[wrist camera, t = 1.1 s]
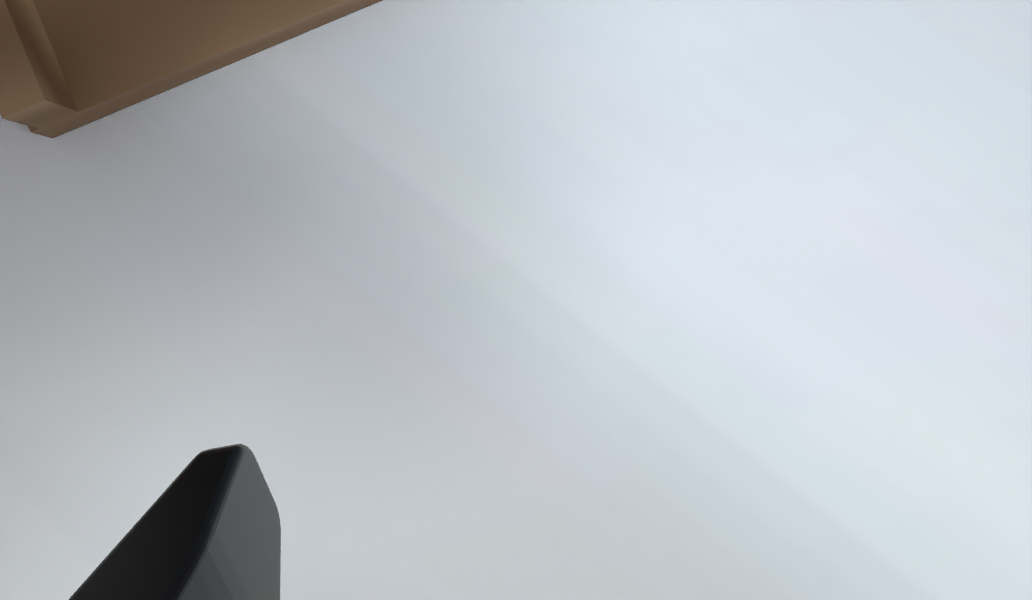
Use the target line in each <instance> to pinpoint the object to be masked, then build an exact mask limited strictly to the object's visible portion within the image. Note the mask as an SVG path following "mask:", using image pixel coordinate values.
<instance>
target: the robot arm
mask: <svg viewBox="0 0 1032 600" xmlns="http://www.w3.org/2000/svg"><path fill="white" fill-rule="evenodd" d="M280 555H281V527H280V518H279V513H278V509H277V506H276V503H275V501H274V499H273V497H272V494H271V492H270V490H269V488H268V485H267V483H266V481H265V479H264V476H263V474H262V472H261V470H260V467H259V465H258V463H257V460H256V458H255V456H254V454H253V452H252V451H251V450H250V449H249V448H248V447H247V446H245V445H242V444H236V445H230V446H224V447H219V448H213V449H208V450H205V451H202V452H201V453H199V454H198V455H197V456H196V457H195V458H194V459H193V460H192V461H191V462H190V463H189V464H188V466H187V467H186V468H185V469H184V470H183V471H182V472H181V473H180V475H179V476H178V477H177V478H176V479H175V480H174V481H173V482H172V484H171V485H170V486H169V487H168V488H167V489H166V490H165V491H164V493H163V494H162V495H161V496H160V497H159V498H158V499H157V501H156V502H155V503H154V504H153V505H152V506H151V507H150V508H149V510H148V511H147V512H146V513H145V514H144V515H143V516H142V517H141V519H140V520H139V521H138V522H137V523H136V524H135V525H134V526H133V528H132V529H131V530H130V531H129V532H128V533H127V534H126V535H125V537H124V538H123V539H122V540H121V541H120V542H119V543H118V544H117V546H116V547H115V548H114V549H113V550H112V551H111V552H110V553H109V555H108V556H107V557H106V558H105V559H104V560H103V561H102V562H101V564H100V565H99V566H98V567H97V568H96V569H95V570H94V571H93V573H92V574H91V575H90V576H89V577H88V578H87V579H86V581H85V582H84V583H83V584H82V585H81V586H80V587H79V588H78V590H77V591H76V592H75V593H74V594H73V595H72V596H71V597H70V599H69V600H280Z"/></svg>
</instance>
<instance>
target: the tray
mask: <svg viewBox="0 0 1032 600" xmlns="http://www.w3.org/2000/svg"><path fill="white" fill-rule="evenodd" d="M379 1H382V0H0V113H1V115H2V118H4V119H7V120H11V121H14V122H18V123H21V124H25V125H28V126H29V129H30V131H31V132H33V133H36V134H40V135H43V136H47V137H50V138H54V137H57V136H59V135H62V134H64V133H66V132H69V131H71V130H73V129H76V128H78V127H81V126H83V125H85V124H88V123H90V122H93V121H95V120H97V119H100V118H102V117H105V116H107V115H109V114H112V113H114V112H117V111H119V110H121V109H124V108H126V107H128V106H131V105H133V104H136V103H138V102H140V101H143V100H145V99H148V98H150V97H152V96H155V95H157V94H160V93H162V92H164V91H167V90H169V89H171V88H174V87H176V86H179V85H181V84H183V83H186V82H188V81H191V80H193V79H195V78H198V77H200V76H203V75H205V74H207V73H210V72H212V71H214V70H217V69H219V68H222V67H224V66H226V65H229V64H231V63H234V62H236V61H238V60H241V59H243V58H246V57H248V56H250V55H253V54H255V53H258V52H260V51H262V50H265V49H267V48H269V47H272V46H274V45H277V44H279V43H281V42H284V41H286V40H289V39H291V38H293V37H296V36H298V35H301V34H303V33H305V32H308V31H310V30H312V29H315V28H317V27H320V26H322V25H324V24H327V23H329V22H332V21H334V20H336V19H339V18H341V17H344V16H346V15H348V14H351V13H353V12H356V11H358V10H360V9H363V8H365V7H367V6H370V5H372V4H375V3H377V2H379Z"/></svg>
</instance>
